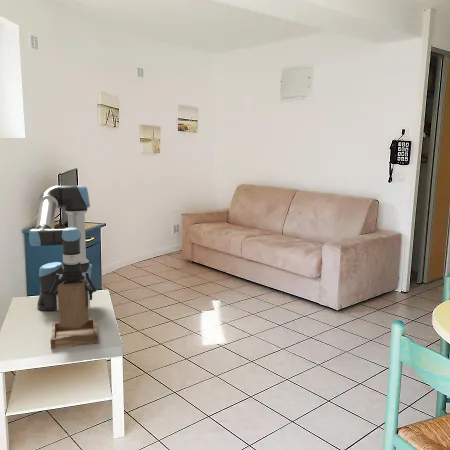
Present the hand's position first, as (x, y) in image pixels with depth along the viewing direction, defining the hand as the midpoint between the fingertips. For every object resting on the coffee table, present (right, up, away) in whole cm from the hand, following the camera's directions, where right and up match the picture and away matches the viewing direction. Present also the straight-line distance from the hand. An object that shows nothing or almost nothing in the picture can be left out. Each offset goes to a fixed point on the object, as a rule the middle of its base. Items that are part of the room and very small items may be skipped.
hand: (73, 308), depth 216 cm
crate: (0, -14, +3) cm, 14 cm away
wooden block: (0, -8, +1) cm, 8 cm away
